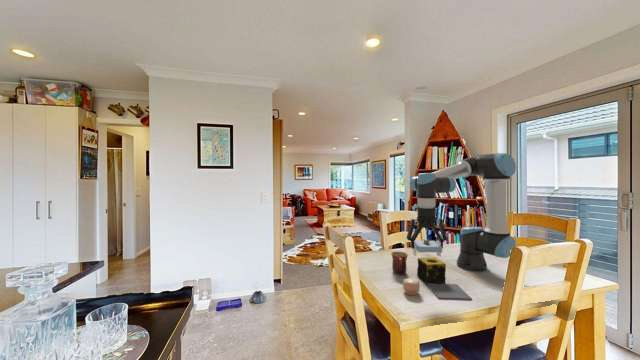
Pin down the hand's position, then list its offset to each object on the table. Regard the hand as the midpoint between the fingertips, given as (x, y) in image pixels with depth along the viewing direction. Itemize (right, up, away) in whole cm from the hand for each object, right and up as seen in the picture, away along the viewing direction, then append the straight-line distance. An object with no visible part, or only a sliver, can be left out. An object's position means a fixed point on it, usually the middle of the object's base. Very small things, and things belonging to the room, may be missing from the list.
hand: (426, 255), depth 114 cm
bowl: (-7, -17, 0) cm, 18 cm away
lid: (0, +3, 0) cm, 3 cm away
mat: (+10, -17, 0) cm, 20 cm away
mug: (-5, -17, +22) cm, 28 cm away
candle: (+8, -17, +14) cm, 23 cm away
